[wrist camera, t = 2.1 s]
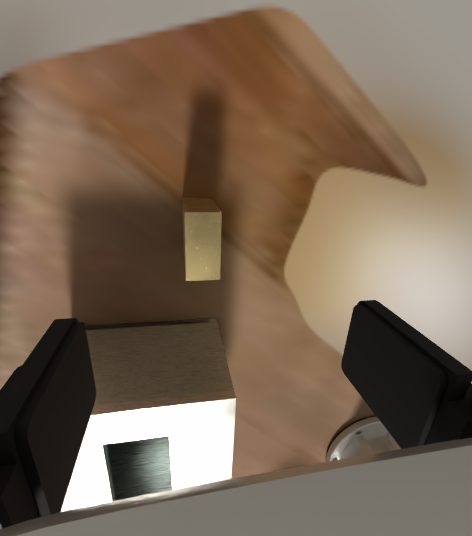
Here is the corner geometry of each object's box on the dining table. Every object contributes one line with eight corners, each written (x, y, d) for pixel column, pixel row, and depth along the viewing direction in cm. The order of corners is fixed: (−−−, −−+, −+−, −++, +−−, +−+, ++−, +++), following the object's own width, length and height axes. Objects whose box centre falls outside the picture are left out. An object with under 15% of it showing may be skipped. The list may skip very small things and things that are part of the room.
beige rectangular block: (210, 197, 26) (221, 212, 20) (209, 250, 28) (220, 279, 22) (182, 197, 26) (184, 212, 19) (183, 251, 27) (186, 281, 21)
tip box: (216, 318, 31) (235, 398, 21) (214, 416, 36) (229, 519, 26) (72, 327, 28) (15, 424, 18) (91, 432, 33) (56, 553, 23)
